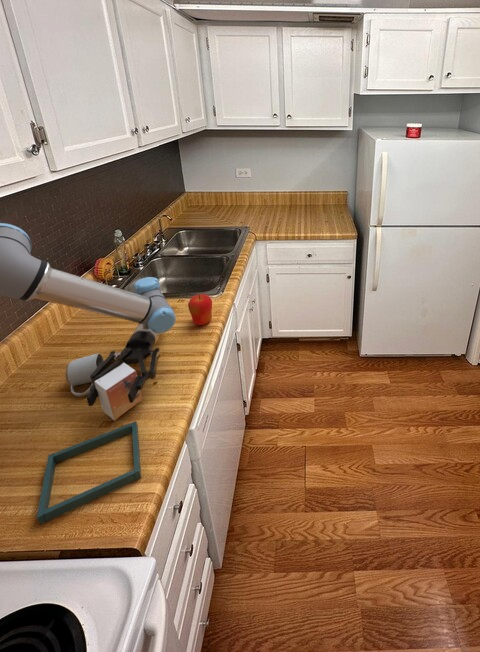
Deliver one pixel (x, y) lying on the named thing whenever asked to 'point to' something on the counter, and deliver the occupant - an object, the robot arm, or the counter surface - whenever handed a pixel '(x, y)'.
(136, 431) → the empty rectangular frame
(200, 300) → the apple
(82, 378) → the ceramic mug
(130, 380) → the small box
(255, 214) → the counter surface
